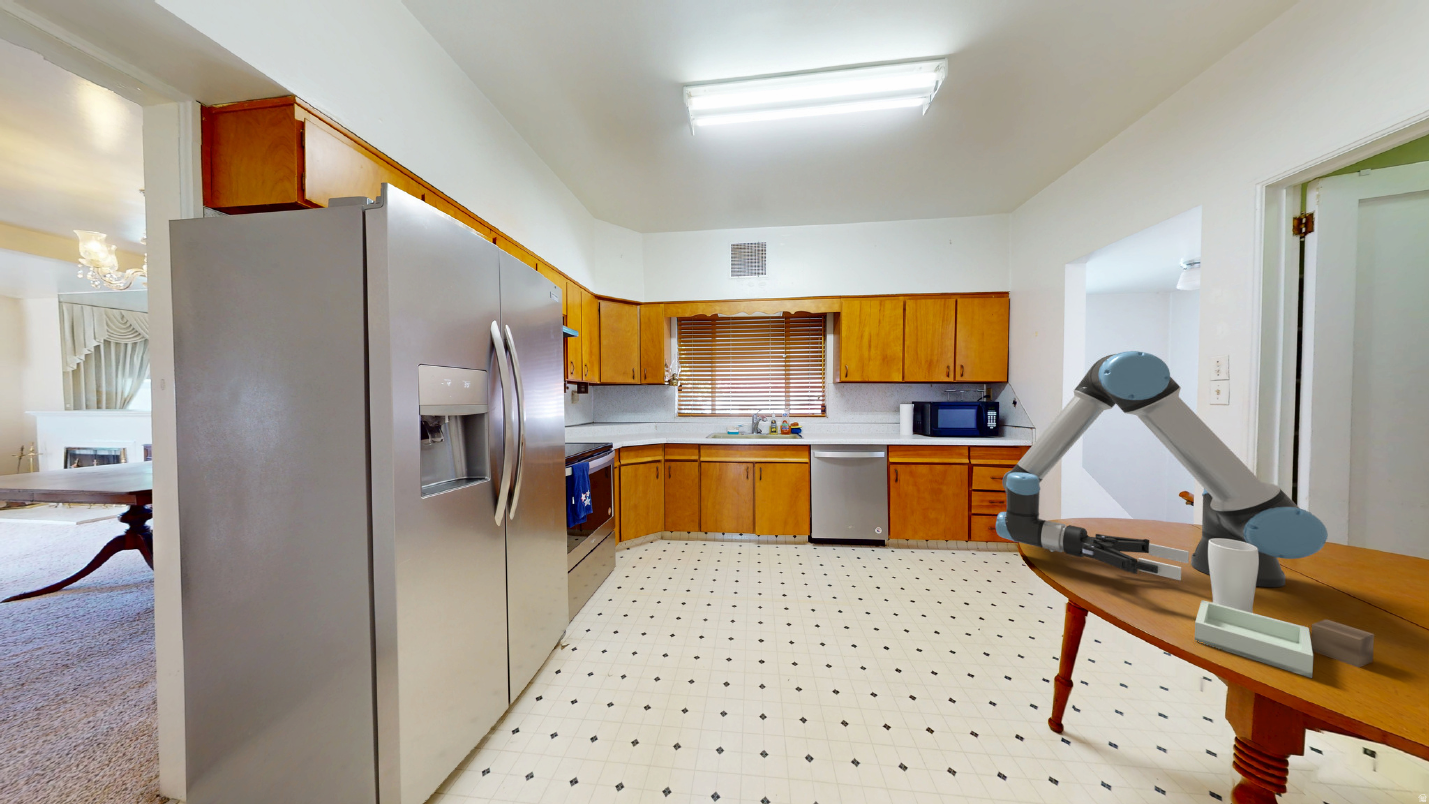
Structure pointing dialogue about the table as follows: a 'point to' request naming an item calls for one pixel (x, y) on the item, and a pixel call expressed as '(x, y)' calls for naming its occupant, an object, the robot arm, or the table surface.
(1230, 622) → the tray
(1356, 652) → the walnut block
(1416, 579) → the table surface
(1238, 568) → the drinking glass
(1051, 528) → the robot arm
